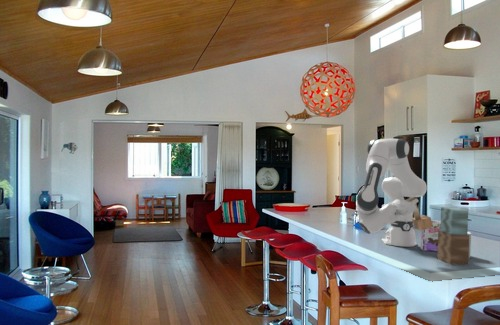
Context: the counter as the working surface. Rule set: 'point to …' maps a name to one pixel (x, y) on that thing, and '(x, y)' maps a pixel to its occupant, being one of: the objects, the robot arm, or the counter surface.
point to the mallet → (421, 219)
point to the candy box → (430, 237)
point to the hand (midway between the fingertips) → (415, 199)
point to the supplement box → (469, 242)
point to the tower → (453, 236)
